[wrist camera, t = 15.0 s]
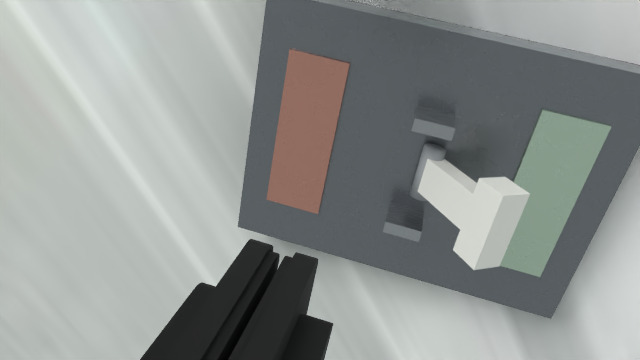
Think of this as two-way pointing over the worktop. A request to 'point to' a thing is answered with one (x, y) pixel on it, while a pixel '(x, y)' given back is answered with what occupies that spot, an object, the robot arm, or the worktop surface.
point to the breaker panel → (432, 142)
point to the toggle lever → (471, 207)
